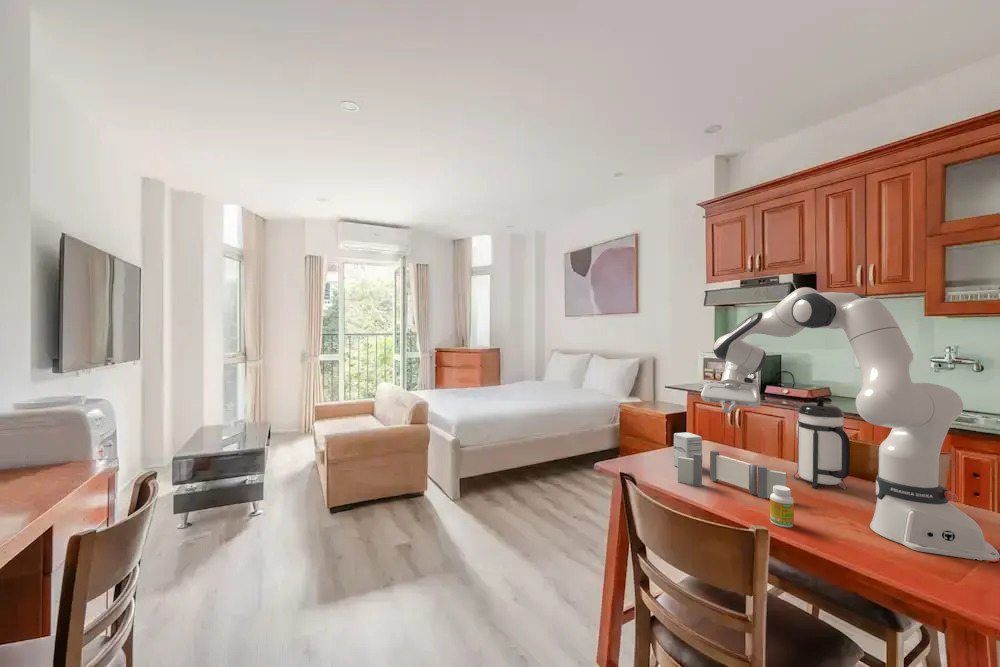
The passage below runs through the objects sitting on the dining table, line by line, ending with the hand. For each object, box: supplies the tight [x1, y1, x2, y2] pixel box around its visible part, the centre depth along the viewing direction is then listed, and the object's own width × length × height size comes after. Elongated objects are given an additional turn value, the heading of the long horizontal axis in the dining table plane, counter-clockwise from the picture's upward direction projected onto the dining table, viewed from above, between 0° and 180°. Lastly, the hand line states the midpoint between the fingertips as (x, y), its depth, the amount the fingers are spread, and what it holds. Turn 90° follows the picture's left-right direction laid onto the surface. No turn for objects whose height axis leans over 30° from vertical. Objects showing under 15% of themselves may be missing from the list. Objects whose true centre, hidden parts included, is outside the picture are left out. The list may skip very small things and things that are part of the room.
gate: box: [709, 449, 758, 495], centre depth 141 cm, size 15×2×10 cm, turn 28°
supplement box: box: [673, 431, 703, 468], centre depth 162 cm, size 7×7×13 cm
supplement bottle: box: [769, 485, 795, 528], centre depth 115 cm, size 5×5×10 cm
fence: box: [677, 453, 787, 500], centre depth 139 cm, size 31×2×10 cm, turn 58°
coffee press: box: [793, 395, 851, 490], centre depth 144 cm, size 17×16×30 cm
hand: (726, 411), depth 160 cm, fingers closed
